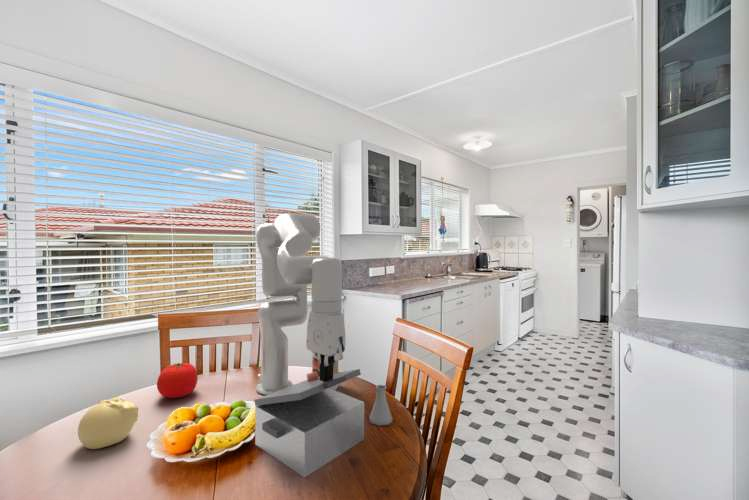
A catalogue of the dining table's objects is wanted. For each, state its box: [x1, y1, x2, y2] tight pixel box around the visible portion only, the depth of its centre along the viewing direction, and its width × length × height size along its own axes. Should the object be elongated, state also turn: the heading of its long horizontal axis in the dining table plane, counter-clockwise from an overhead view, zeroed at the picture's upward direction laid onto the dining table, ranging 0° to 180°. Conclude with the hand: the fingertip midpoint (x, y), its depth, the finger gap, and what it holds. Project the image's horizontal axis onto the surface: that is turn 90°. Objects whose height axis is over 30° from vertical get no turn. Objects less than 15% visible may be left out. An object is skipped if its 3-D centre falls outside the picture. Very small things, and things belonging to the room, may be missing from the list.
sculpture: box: [77, 396, 139, 450], centre depth 90 cm, size 11×12×11 cm
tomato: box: [156, 361, 199, 399], centre depth 118 cm, size 12×13×11 cm
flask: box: [368, 384, 394, 426], centre depth 102 cm, size 7×7×10 cm
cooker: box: [254, 388, 365, 478], centre depth 90 cm, size 20×25×10 cm
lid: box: [253, 368, 362, 406], centre depth 90 cm, size 22×20×4 cm
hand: (326, 379), depth 86 cm, fingers closed
